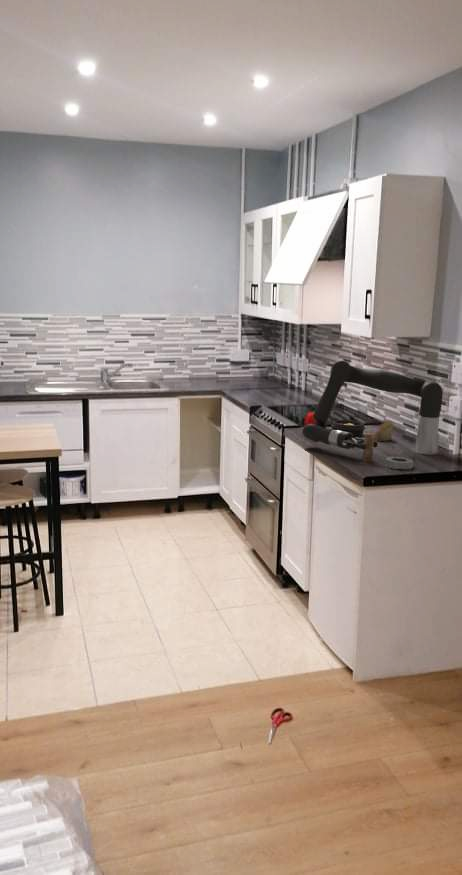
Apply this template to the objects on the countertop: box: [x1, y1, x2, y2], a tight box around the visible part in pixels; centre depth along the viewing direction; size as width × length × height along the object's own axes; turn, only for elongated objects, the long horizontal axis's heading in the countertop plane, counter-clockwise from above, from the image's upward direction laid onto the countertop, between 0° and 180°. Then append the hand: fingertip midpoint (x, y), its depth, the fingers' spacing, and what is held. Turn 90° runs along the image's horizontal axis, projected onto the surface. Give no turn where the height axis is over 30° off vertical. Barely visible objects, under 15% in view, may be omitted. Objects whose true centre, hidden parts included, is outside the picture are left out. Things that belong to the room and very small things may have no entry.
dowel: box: [362, 432, 375, 463], centre depth 324 cm, size 4×4×12 cm
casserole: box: [330, 419, 366, 438], centre depth 370 cm, size 25×19×8 cm
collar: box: [384, 456, 414, 471], centre depth 317 cm, size 11×11×3 cm
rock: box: [374, 420, 394, 442], centre depth 372 cm, size 11×9×10 cm
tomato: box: [304, 411, 328, 427], centre depth 391 cm, size 11×12×9 cm
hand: (371, 445), depth 322 cm, fingers open, 8 cm apart
